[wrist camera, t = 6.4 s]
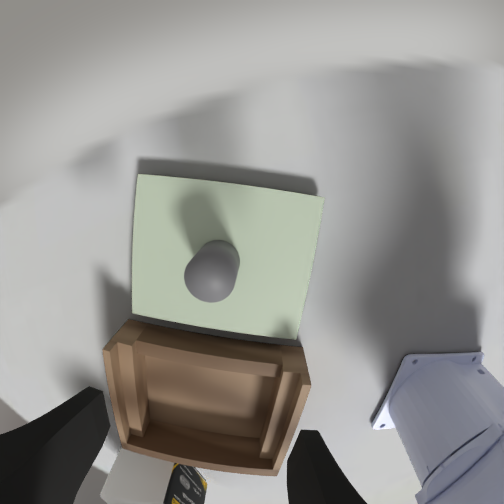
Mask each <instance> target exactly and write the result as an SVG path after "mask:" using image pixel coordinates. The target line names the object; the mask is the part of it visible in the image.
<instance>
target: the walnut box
mask: <svg viewBox="0 0 504 504" xmlns="http://www.w3.org/2000/svg"><path fill="white" fill-rule="evenodd" d="M102 350H103V357H104V364H105V371H106V377H107V382H108V388H109V393H110V398H111V403H112V408H113V412H114V417H115V421H116V425H117V429H118V433H119V437H120V441H121V445H122V448H123V449H125V450H129V451H132V452H135V453H139V454H142V455H146V456H149V457H153V458H157V459H161V460H165V461H169V462H173V463H178V464H183V465H187V466H193V467H198V468H204V469H210V470H216V471H223V472H231V473H240V474H250V475H263V476H277V475H278V472H279V470H280V468H281V465H282V463H283V460H284V458H285V456H286V453H287V451H288V448H289V446H290V443H291V441H292V438H293V435H294V433H295V430H296V428H297V425H298V422H299V419H300V417H301V414H302V411H303V408H304V406H305V403H306V400H307V397H308V394H309V391H310V388H311V381H310V377H309V372H308V368H307V363H306V359H305V355H304V350H303V347H296V346H286V345H277V344H269V343H260V342H253V341H245V340H238V339H231V338H225V337H218V336H212V335H206V334H200V333H194V332H189V331H183V330H178V329H173V328H168V327H163V326H158V325H153V324H148V323H144V322H139V321H135V320H130V319H128V320H127V321H126V323H125V324H124V325H123V326H122V327H121V328H120V329H119V331H118V332H117V333H116V334H115V335H114V336H113V338H112V339H111V340H110V341H109V342H108V343H107V345H106V346H105V347H104V348H103V349H102Z"/></svg>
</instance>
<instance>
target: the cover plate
mask: <svg viewBox="0 0 504 504" xmlns="http://www.w3.org/2000/svg"><path fill="white" fill-rule="evenodd" d="M324 199H325V198H324V197H319V196H313V195H308V194H302V193H296V192H290V191H283V190H277V189H270V188H263V187H256V186H249V185H242V184H234V183H226V182H218V181H209V180H201V179H191V178H181V177H171V176H159V175H147V174H138V177H137V186H136V197H135V210H134V225H133V246H132V313H133V314H138V315H143V316H147V317H152V318H157V319H162V320H167V321H172V322H177V323H183V324H188V325H194V326H200V327H206V328H212V329H218V330H224V331H231V332H238V333H245V334H252V335H260V336H268V337H276V338H285V339H294V340H296V338H297V334H298V330H299V325H300V321H301V317H302V312H303V308H304V303H305V299H306V294H307V290H308V285H309V280H310V275H311V270H312V265H313V260H314V255H315V250H316V245H317V239H318V234H319V228H320V223H321V217H322V211H323V205H324Z"/></svg>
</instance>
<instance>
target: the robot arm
mask: <svg viewBox="0 0 504 504" xmlns="http://www.w3.org/2000/svg"><path fill="white" fill-rule="evenodd" d="M415 359H416V360H415ZM483 359H484V353H483V352H470V353H449V354H409V355H407V356H405V357H404V359H403V361H402V363H401V366H400V368H399V370H398V372H397V375H396V377H395V379H394V381H393V383H392V385H391V388H390V390H389V392H388V394H387V396H386V398H385V400H384V402H383V404H382V406H381V408H380V409H379V411H378V413H377V415H376V417H375V419H374V421H373V422H372V425H371V426H372V429H374V430H377V429H389V428H396V430H397V432H398V434H399V436H400V438H401V440H402V443H403V445H404V447H405V449H406V452H407V454H408V456H409V458H410V461H411V463H412V465H413V467H414V470H415V472H416V474H417V477H418V479H419V481H420V484H421V486H422V489H421V490H420V491H419V492H418V493H417V494H416V495H415V497H416V500H417V502H418V504H504V387H503V386H502V385H501V384H500V383H499V382H498V381H497V380H496V379H495V377H494V376H493V375H492V374H491V373H490V372H489V371H488V370H487V369H486V368H485V367H484V366H483V365H482V364H481V363H482V361H483ZM414 360H415V361H414ZM413 361H414V362H413ZM109 428H110V423H109V419H108V414H107V410H106V405H105V400H104V395H103V391H101V390H98V389H95V388H92V387H90V386H89V387H87V388H86V389H84V390H82V391H81V392H79V393H78V394H76V395H75V396H73V397H72V398H70V399H69V400H67V401H66V402H64V403H63V404H61V405H59V406H58V407H56V408H54V409H53V410H51V411H50V412H48V413H46V414H44V415H43V416H41V417H39V418H37V419H35V420H33V421H31V422H30V423H28V424H26V425H23V426H22V427H19V428H17V429H14V430H12V431H9V432H7V433H4V434H1V435H0V504H73V502H74V500H75V497H76V494H77V492H78V490H79V488H80V486H81V484H82V482H83V480H84V478H85V476H86V475H87V473H88V471H89V469H90V468H91V466H92V464H93V462H94V460H95V459H96V457H97V455H98V453H99V451H100V450H101V448H102V446H103V443H104V441H105V438H106V436H107V433H108V430H109ZM287 490H288V499H289V504H367V503H366V502H365V501H364V500H363V498H362V497H361V496H360V495H359V494H358V492H357V491H356V490H355V489H354V487H353V486H352V485H351V483H350V482H349V481H348V479H347V478H346V476H345V475H344V473H343V472H342V470H341V469H340V467H339V466H338V464H337V463H336V461H335V459H334V458H333V456H332V454H331V453H330V451H329V449H328V448H327V446H326V444H325V442H324V440H323V438H322V437H321V435H320V433H319V432H318V430H301V431H300V433H299V435H298V438H297V440H296V442H295V445H294V447H293V449H292V451H291V454H290V456H289V458H288V460H287Z"/></svg>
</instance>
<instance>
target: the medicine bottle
mask: <svg viewBox="0 0 504 504" xmlns="http://www.w3.org/2000/svg"><path fill="white" fill-rule="evenodd" d="M206 489H207V482H206V481H205V480H204V479H203V478H202V476H201V475H200V474H199V473H198V471H197V470H196V469H195V468H194V467H193V466H187V465H183V464H178V463H173V462H169V461H165V460H161V459H157V458H153V457H149V456H146V455H142V454H139V453H135V452H132V451H129V450H125V449H123V448H121V449H120V451H119V454H118V456H117V458H116V460H115V462H114V464H113V467H112V469H111V471H110V473H109V475H108V478H107V480H106V482H105V484H104V487H103V489H102V491H101V493H100V497H101V498H102V499H103V500H104V501H105V502H107V503H108V504H204V501H205V495H206Z"/></svg>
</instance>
